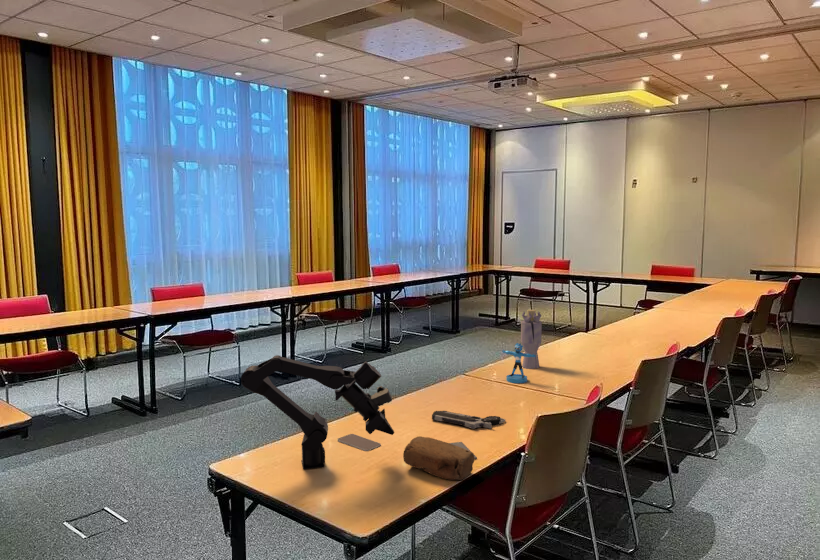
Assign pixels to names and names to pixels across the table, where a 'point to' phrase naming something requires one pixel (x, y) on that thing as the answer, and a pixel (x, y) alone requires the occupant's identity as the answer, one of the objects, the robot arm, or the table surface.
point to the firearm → (467, 419)
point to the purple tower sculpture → (531, 338)
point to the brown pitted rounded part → (439, 458)
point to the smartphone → (359, 442)
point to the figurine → (517, 377)
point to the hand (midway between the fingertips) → (393, 433)
